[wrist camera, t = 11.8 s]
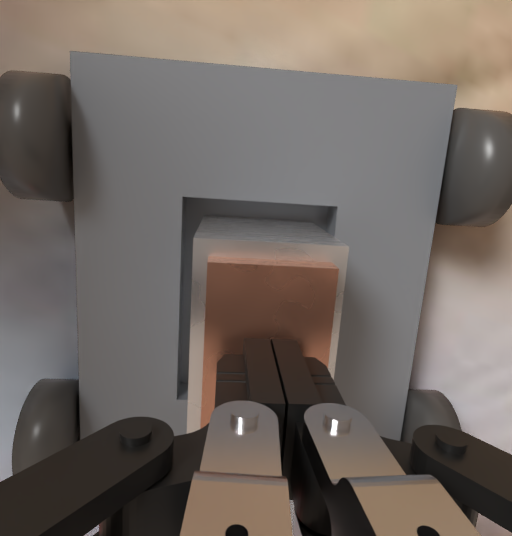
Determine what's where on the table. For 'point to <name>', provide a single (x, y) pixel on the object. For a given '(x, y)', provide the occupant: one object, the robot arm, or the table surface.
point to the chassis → (239, 205)
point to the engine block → (260, 295)
